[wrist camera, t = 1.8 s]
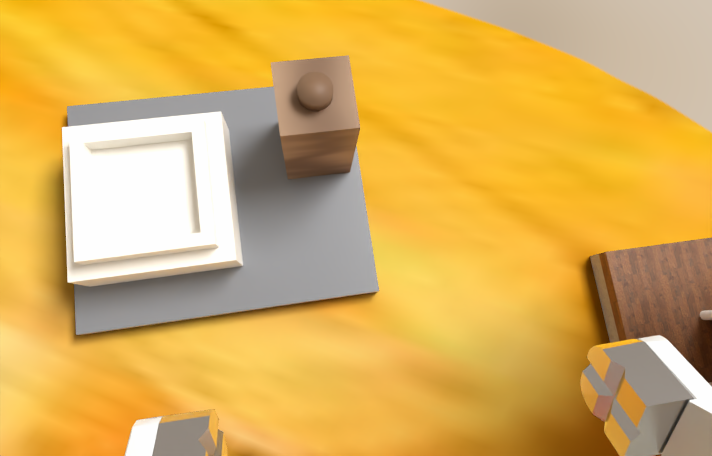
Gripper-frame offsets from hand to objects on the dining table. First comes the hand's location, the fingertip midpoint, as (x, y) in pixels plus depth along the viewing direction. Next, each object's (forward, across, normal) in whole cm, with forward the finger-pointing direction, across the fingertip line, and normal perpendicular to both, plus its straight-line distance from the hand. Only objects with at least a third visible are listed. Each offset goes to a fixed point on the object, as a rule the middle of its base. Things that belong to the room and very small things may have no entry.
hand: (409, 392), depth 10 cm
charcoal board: (+25, +7, +9) cm, 27 cm away
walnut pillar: (+26, 0, +6) cm, 27 cm away
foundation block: (+25, +11, +8) cm, 29 cm away
